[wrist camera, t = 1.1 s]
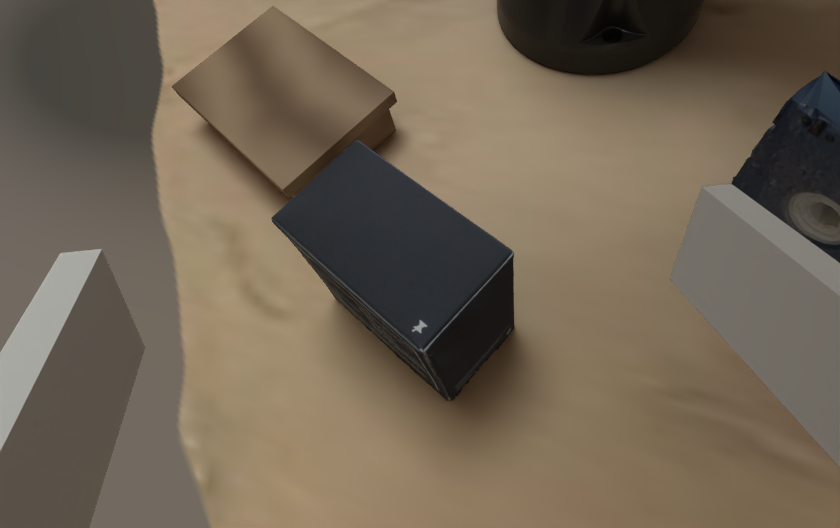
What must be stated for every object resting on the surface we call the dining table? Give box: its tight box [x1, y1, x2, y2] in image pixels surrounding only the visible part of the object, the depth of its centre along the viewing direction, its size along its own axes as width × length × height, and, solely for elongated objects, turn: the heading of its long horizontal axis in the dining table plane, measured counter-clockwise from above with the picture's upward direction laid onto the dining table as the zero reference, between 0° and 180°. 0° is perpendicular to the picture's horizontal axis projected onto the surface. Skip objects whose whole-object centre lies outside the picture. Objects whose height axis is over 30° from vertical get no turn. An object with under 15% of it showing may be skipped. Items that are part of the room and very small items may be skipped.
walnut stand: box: [172, 6, 397, 198], centre depth 40 cm, size 10×14×4 cm
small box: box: [272, 140, 514, 401], centre depth 29 cm, size 11×6×10 cm, turn 47°
